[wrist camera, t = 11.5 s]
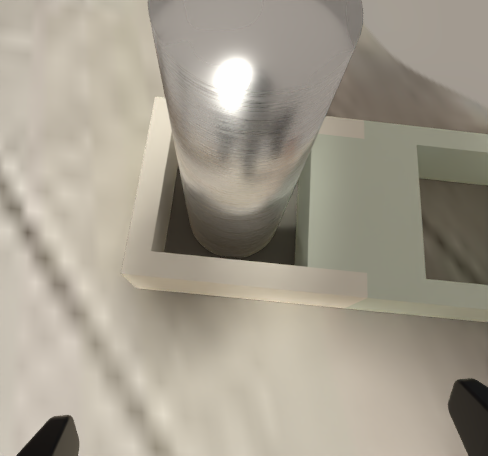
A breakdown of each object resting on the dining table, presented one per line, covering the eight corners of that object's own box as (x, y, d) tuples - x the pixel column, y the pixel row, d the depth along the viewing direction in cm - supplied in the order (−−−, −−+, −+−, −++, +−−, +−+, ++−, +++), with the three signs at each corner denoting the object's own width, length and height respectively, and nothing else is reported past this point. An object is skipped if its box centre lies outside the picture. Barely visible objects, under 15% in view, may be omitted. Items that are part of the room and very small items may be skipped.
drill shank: (221, 275, 18) (227, 129, 7) (172, 202, 19) (107, -28, 8) (295, 226, 19) (406, 31, 8) (245, 160, 20) (279, -97, 9)
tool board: (519, 172, 21) (566, 142, 18) (545, 327, 18) (605, 321, 16) (163, 133, 21) (155, 96, 18) (136, 288, 18) (120, 273, 15)
